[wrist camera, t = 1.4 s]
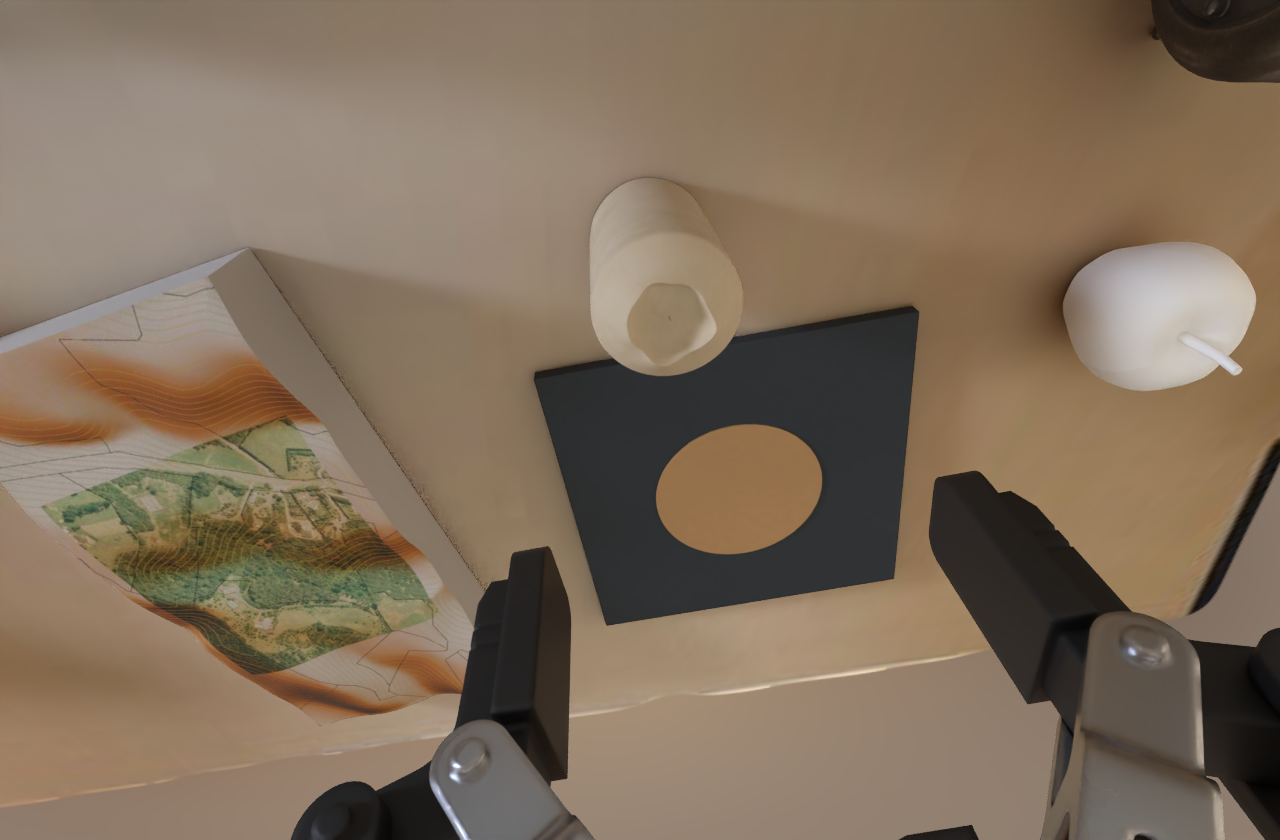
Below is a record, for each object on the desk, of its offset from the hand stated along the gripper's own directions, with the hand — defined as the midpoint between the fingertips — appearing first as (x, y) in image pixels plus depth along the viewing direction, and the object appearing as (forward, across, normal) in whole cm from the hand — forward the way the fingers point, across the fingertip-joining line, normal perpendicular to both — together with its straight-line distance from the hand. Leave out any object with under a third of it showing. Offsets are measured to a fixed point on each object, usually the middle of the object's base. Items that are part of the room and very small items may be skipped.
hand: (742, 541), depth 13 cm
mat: (+20, -2, +16) cm, 26 cm away
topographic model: (+20, +24, +12) cm, 33 cm away
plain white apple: (+20, -23, +7) cm, 31 cm away
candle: (+20, 0, 0) cm, 20 cm away
